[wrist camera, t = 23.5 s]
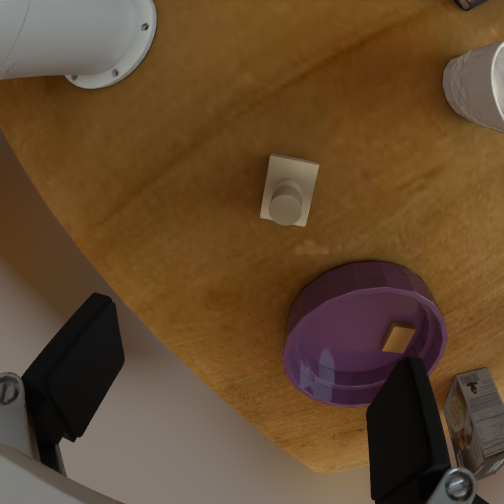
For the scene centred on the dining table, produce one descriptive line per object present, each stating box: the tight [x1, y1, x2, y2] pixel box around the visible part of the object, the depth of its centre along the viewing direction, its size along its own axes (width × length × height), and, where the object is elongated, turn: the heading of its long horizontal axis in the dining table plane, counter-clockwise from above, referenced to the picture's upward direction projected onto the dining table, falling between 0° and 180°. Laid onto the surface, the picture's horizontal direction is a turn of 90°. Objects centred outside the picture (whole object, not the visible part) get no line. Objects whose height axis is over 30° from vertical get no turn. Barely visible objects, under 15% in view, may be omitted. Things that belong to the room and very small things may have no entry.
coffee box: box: [443, 367, 504, 481], centre depth 31 cm, size 9×6×16 cm
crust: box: [381, 320, 416, 353], centre depth 34 cm, size 3×4×1 cm
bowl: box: [282, 261, 447, 408], centre depth 33 cm, size 18×18×6 cm
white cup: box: [442, 41, 504, 134], centre depth 17 cm, size 8×8×10 cm
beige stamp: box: [260, 153, 319, 227], centre depth 26 cm, size 6×4×8 cm
